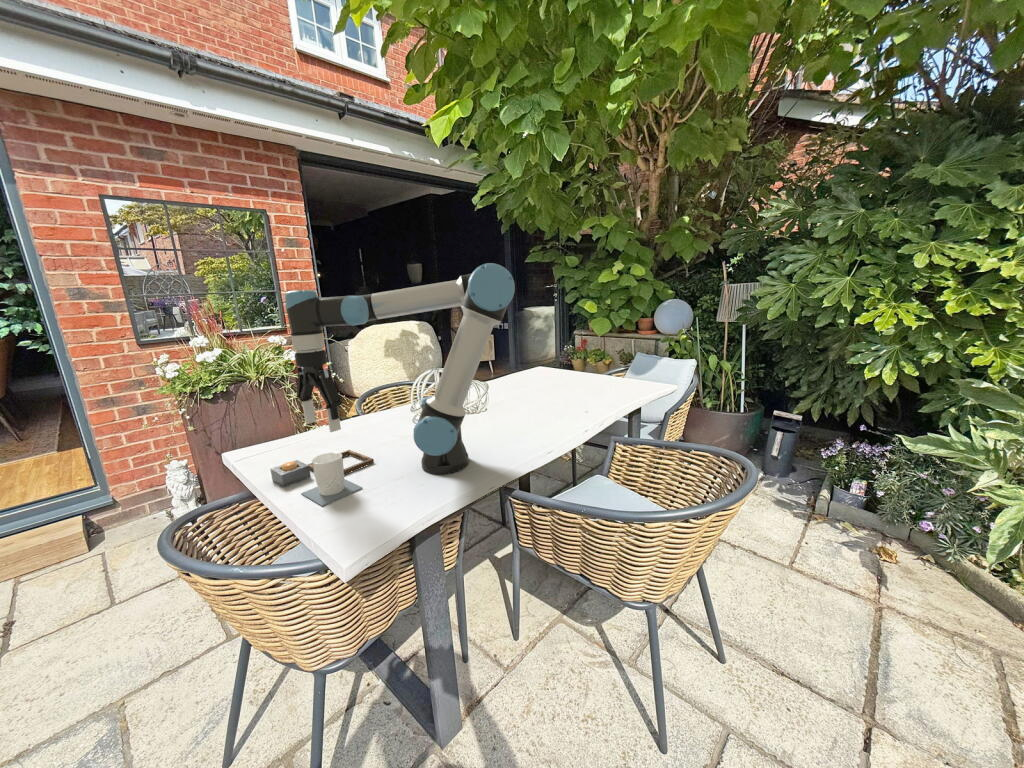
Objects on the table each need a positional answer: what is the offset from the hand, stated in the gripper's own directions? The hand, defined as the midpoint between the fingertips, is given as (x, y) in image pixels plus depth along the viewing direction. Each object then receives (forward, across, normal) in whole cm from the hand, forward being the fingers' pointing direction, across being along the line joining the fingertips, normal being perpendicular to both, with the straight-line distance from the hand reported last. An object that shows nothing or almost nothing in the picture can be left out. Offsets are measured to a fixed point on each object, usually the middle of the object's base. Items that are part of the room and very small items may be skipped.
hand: (322, 426), depth 110 cm
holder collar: (+20, +15, -11) cm, 27 cm away
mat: (+20, 0, 0) cm, 20 cm away
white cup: (+19, 0, 0) cm, 19 cm away
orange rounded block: (+18, +19, +3) cm, 27 cm away
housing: (+20, +19, +3) cm, 28 cm away
